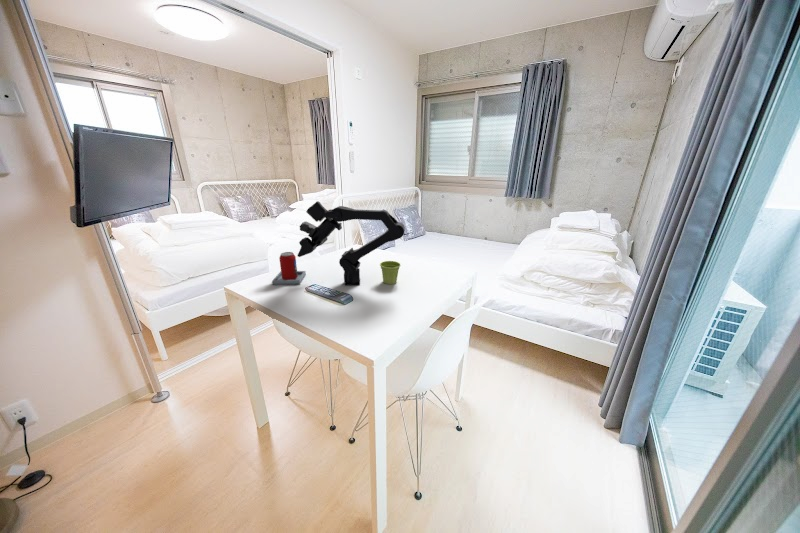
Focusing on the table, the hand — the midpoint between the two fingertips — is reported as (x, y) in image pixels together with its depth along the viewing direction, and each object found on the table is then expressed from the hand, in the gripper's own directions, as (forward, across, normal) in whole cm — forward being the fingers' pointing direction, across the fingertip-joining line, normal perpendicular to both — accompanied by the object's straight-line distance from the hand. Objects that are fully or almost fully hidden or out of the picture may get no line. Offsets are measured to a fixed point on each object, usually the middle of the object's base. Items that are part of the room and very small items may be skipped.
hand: (302, 253), depth 121 cm
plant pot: (-18, -3, +37) cm, 41 cm away
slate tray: (+14, 0, +4) cm, 15 cm away
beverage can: (+14, 0, +4) cm, 15 cm away
